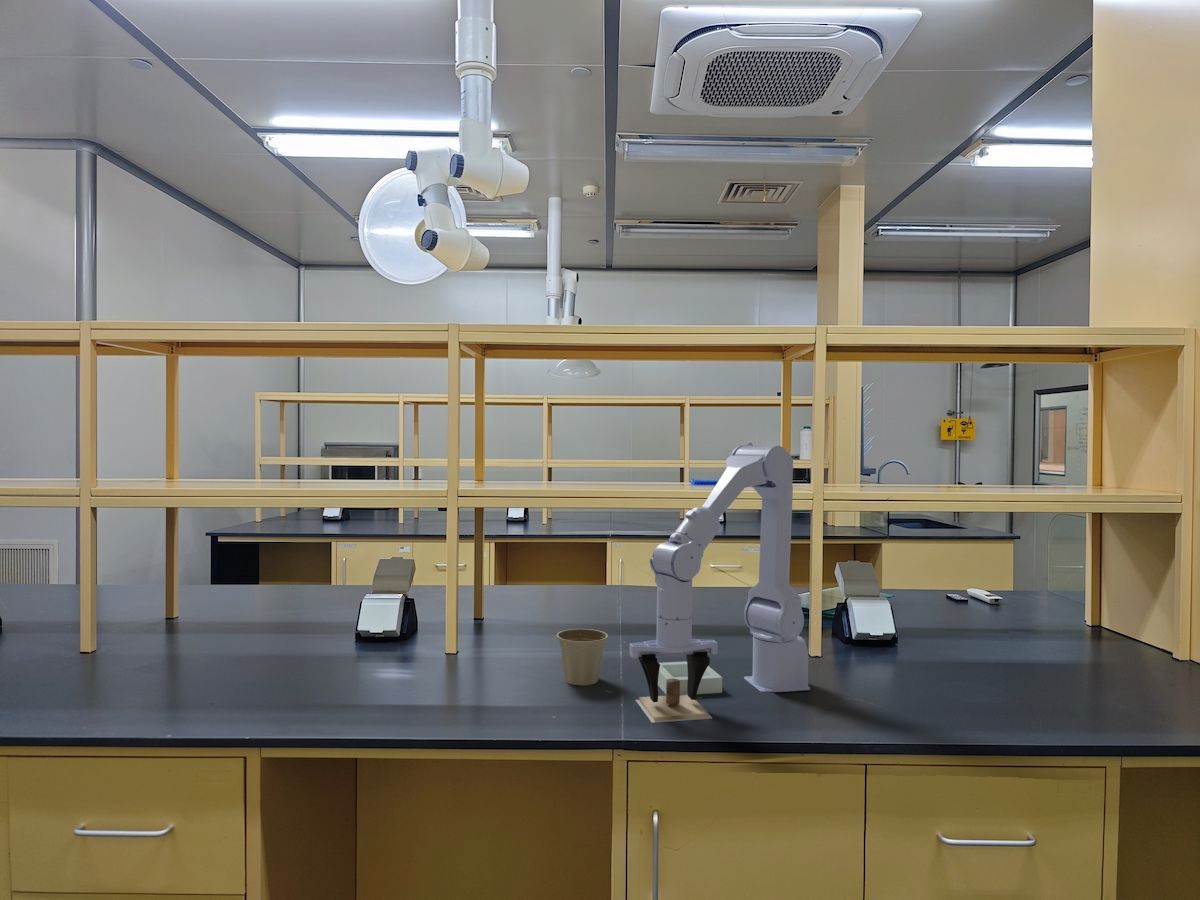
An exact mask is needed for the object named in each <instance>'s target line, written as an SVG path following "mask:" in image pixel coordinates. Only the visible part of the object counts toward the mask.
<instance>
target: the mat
mask: <svg viewBox="0 0 1200 900" xmlns="http://www.w3.org/2000/svg"><path fill="white" fill-rule="evenodd" d="M635 702H636V703H637V705H639V707H640V708H641V711H642V712H643V713H644V714H645V715H646V717H647V718H648V719H649V721H650V722H651V724H654V723H669V722H670V723H671V722H680V721H681V722H682V721H683V722H684V721H697V720H711V719H713V717H712V716H711V715H710V714H709V717H706V718H691V719H677V720H662V721H654V720H653V719H652V718H651V716H650V715H649V714H648V712H647V711H646V710H645V708H644V707H643V705H642V704H641V703H640V701H639V699H635Z"/></svg>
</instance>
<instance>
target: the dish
mask: <svg viewBox="0 0 1200 900" xmlns="http://www.w3.org/2000/svg"><path fill="white" fill-rule="evenodd" d="M658 663H659V664H660V669H659V676H658V688H660V689H661V691H662V692H663V693H664V694H665V695H666V680H667V679H678V680H680V695H684V694H688V693H687V684H688V667H687V660H686V661H671V662H670V661H669V662H668V661H666V662H658ZM721 693H723V677H722V675H720V674H718V673H717V672H716V671H715V670H714V669H713V668H711V667H710V665H708V667H707V669H706V670H705V672H704V674H703V676H702V679H701V681H700V684H699V687H698V691H697V695H707V694H709V695H710V694H721Z"/></svg>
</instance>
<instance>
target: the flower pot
mask: <svg viewBox="0 0 1200 900" xmlns="http://www.w3.org/2000/svg"><path fill="white" fill-rule="evenodd" d="M556 638H557V639H558V643H559V646H560V649H561V650H560V651H561V658H562V659H561V660H562V670H563V680H564V682H565V683H567V684H569V685H574V686H575V685H576V686H590V685H594V684H596V683H598V681H599V678H600V670H601V663H602V657H603V652H604V647H605V646H606V640H608V638H609V635H608V633H606V632H605V631H602V630H598V629H591V628H571V629H565V630H561V631H558V632H557V633H556Z"/></svg>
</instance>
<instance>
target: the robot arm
mask: <svg viewBox="0 0 1200 900" xmlns="http://www.w3.org/2000/svg"><path fill="white" fill-rule="evenodd" d="M793 473H794V458H793V457H792V456H791V455H790V453H789V452H788V451H787V450H786V448H784V447H783V446H782V445H773V446H754V445H753V446H751V445H749V446H747V445H738V446H736V447H735V448H733V450H732V452H731V454H730V455H729V456H728V457H727V458H726V460H725V470H724V472H723V473H722V474H721V477H720V478H719V479H718V481H717V483H716V484H715V486H714V487H713V488H712V491H710V494H709V495H708V497H707V498H706V499H705V501H704V503H703V504H702V506H698V507H697V506H696V507H692V508H691V509H690V510H688V511H687V512H686V513H685V515H684V516H685V518H684V519H683V520H682V521H681V523H680V524H679V526H678V527H677V528H676V529H675V531H674V532H672V534H671V535H670V536H669V539H668V541H664V542H661V543H659V544H658V545H657V546H656V547H655V549H654V550H653V552H652V555H651V558H649V566H650V568H651V570H652V573H654V581H655V582H654V583H655V584H656V634H655V635H656V637H655V638H656V639H652V640H647V641H645V640H644V641H641V642H630V643H629V645H628V646H629V647H628V648H629V653H628V654H629V656H630V658H632V659H638V662H639V663H640V666H641V668H642V670H643V673H644V675H645V678H646V682H647V686H648V690H649V697H650V699H651V700H652V701H653V702H658V696H659V686H658V676H659V669H660V664H659V663H660V662H659V661H658V658H657V657H659V656H660V657H662V656H682V655H683V656H684V655H686V661H687V667H688V684H687V693H688V697H689V698H690V699H691V700H696V699H697V695H698V694H697V691H698V687H699V684H700V681H701V679H702V676H703V674H704V672H705V670H706V669H707V667H708V666H710V663H711V657H710V656H708V654H710V655H718V642H717V641H716V640H714V639H696V638H695V639H694V638H692V626H693V625H692V623H693V622H692V620H693V619H692V618H693V617H692V616H693V614H692V611H693V610H692V609H693V608H692V606H693V579H694V578H695V577H696V575H698V573H700V569H701V565H702V559H703V557H704V551H705V550H706V549H707V548H708V546H709V545H710V543H711V542H712V541H713V540H714V537H715V536H717V533H718V532H719V531H720V529H721V523H720V522H721V521H720V518H721V517H722V515H723V514H724V513H725V512H726V511H727V510H728V508H729V507H730V506H731V505H732V503H734V501H735V500H736V499H737V498H738V497H739V495H740V494H741V493H742V492H743V491H744V489H746V488H749V487H750V488H753V489H754V491H755V492H756V493H757V494H758V495H759V496H760V497H761V513H760V514H761V515H760V517H761V518H760V535H759V538H760V539H759V540H760V542H759V561H758V562H759V563H758V566H759V567H758V582H757V583H756V584H754V585H753V587H751V588H750V589H749V590H748V593H747V595H748V597H747V602H746V604H745V607H744V609H743V619H744V623H745V625H746V626H747V627H748V628H749V633H750V635H752V675H748V676H747V675H746V676H744V677H743V679H744V680H745V681H746V682H747V683H749V684H750V685H752V686H753V687H754V688H755V689H756V690H758V691H760V693H782V692H783V693H784V692H785V693H786V692H787V693H788V692H798V691H799V692H801V691H811V686H809V650H808V646H807V643H806V641H805V639H804V638H803V637H802V636H800V634H801V633H802V631H803V628H804V626H805V625H804V624H805V616H804V613H803V608H802V597H801V596H800V595H799V593H798V592H797V591H796V590H795V589H794V588H793V587H792V586H791V585H790V571H791V570H790V569H791V544H792V542H791V541H792V524H793V523H792V518H793V517H792V516H793V515H792V514H793V495H794V494H793V492H794V491H793V490H794V489H793ZM696 701H697V700H696Z"/></svg>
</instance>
